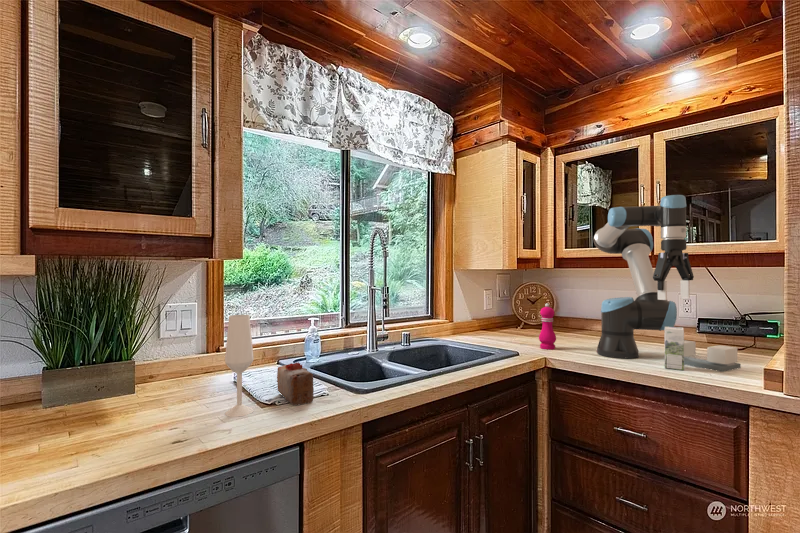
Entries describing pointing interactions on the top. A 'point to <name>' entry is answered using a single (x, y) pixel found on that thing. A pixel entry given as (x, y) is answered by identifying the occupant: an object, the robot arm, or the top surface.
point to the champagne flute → (239, 357)
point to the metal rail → (705, 360)
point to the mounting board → (711, 365)
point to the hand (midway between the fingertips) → (673, 299)
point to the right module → (722, 354)
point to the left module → (689, 348)
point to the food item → (295, 383)
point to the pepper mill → (547, 328)
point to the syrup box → (674, 348)
